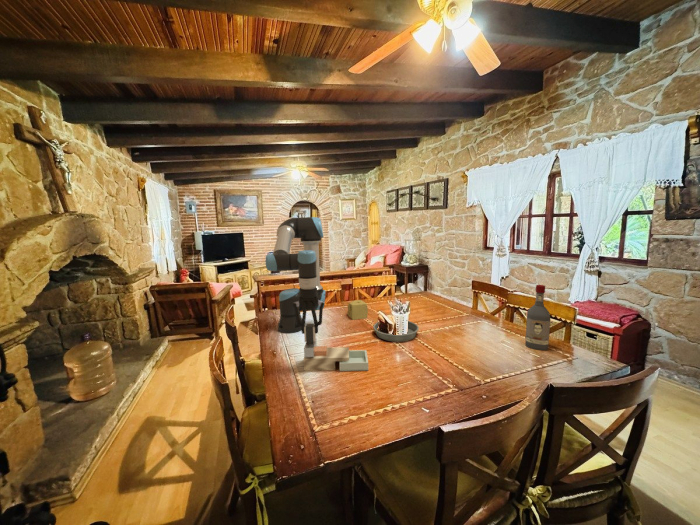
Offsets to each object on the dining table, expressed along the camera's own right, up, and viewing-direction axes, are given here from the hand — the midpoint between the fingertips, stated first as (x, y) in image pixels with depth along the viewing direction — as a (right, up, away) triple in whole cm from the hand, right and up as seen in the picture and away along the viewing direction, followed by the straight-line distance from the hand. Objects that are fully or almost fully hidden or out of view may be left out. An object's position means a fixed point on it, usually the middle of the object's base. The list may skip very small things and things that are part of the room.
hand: (310, 340), depth 125 cm
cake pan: (+42, -6, +35) cm, 55 cm away
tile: (+5, -6, +1) cm, 7 cm away
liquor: (+108, -7, +15) cm, 109 cm away
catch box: (+19, -11, +2) cm, 22 cm away
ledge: (+7, -11, +2) cm, 13 cm away
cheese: (+22, -2, +64) cm, 68 cm away
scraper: (0, -5, +1) cm, 5 cm away
